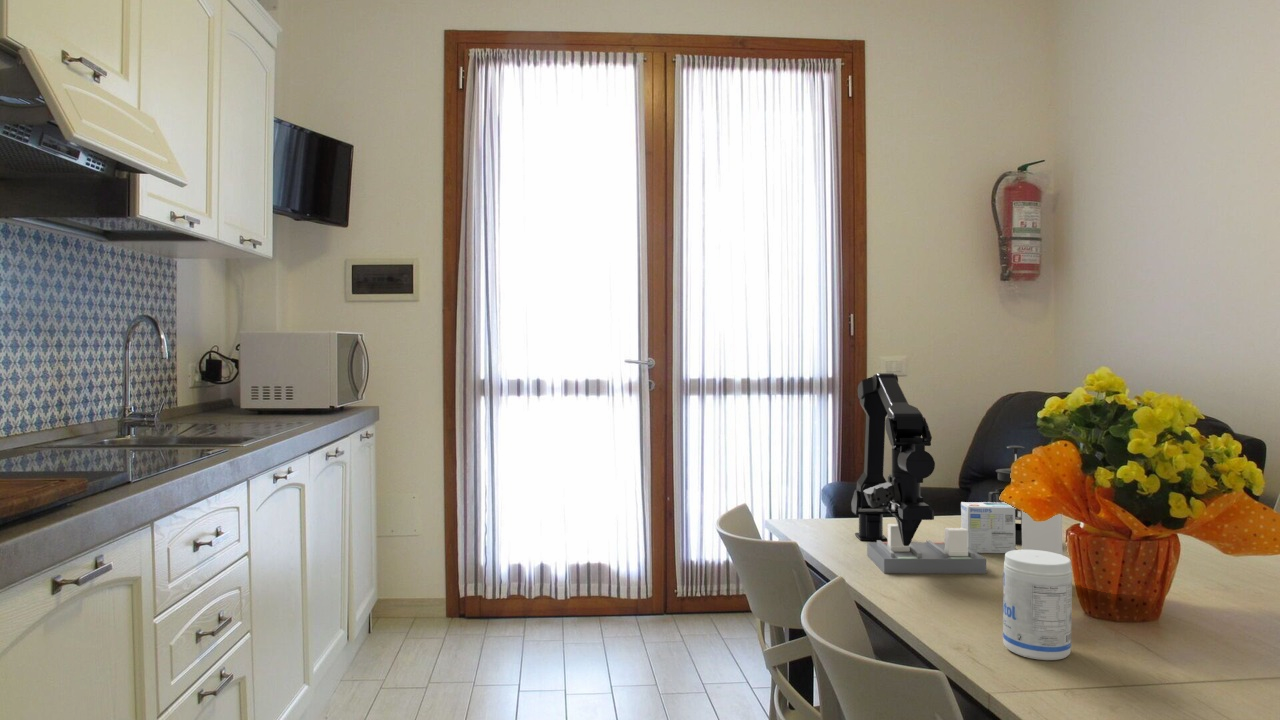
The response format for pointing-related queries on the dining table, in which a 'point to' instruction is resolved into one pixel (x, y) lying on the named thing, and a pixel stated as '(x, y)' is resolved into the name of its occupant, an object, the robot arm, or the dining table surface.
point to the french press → (1003, 476)
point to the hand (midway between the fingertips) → (905, 545)
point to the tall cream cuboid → (956, 541)
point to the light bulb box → (989, 526)
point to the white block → (895, 539)
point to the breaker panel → (924, 559)
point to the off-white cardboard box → (1042, 534)
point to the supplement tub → (1037, 604)
